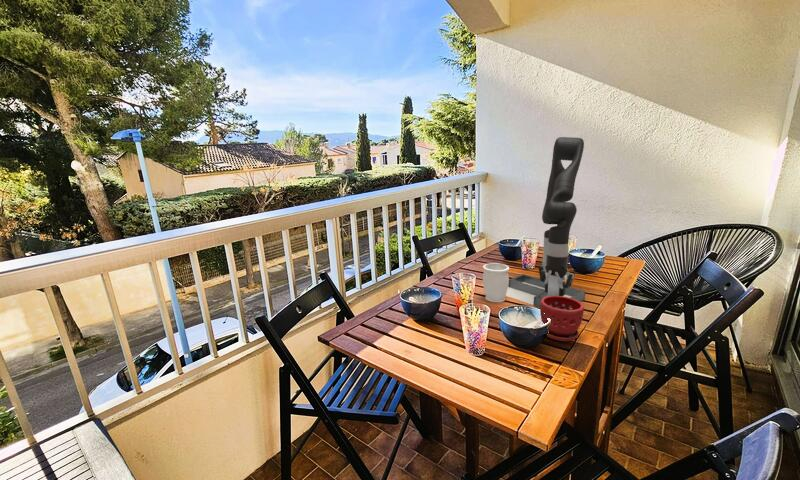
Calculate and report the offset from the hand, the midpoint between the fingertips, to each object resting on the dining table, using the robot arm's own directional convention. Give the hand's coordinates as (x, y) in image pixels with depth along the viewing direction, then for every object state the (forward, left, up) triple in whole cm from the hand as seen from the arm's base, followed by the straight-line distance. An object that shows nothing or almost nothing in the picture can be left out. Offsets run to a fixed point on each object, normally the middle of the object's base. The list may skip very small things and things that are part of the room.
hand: (554, 294), depth 136 cm
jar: (+11, -20, -6) cm, 24 cm away
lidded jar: (-23, -12, -6) cm, 27 cm away
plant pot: (+18, +12, -6) cm, 22 cm away
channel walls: (-4, -9, -5) cm, 11 cm away
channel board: (-4, -9, -6) cm, 11 cm away
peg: (0, 0, -4) cm, 4 cm away
